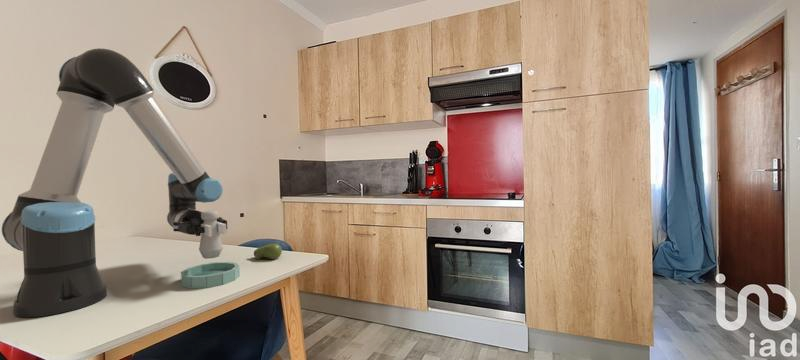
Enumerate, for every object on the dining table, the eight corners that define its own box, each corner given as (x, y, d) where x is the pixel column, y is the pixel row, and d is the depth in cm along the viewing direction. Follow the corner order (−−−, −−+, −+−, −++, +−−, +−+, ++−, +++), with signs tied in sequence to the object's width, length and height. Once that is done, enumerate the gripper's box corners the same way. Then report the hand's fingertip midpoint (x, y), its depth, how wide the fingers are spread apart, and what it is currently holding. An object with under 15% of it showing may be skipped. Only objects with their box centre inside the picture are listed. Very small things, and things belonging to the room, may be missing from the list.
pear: (273, 244, 111) (248, 248, 114) (276, 260, 111) (251, 263, 114) (283, 241, 117) (259, 244, 119) (286, 255, 117) (262, 259, 119)
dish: (170, 289, 85) (170, 278, 85) (196, 273, 99) (196, 263, 99) (227, 286, 87) (227, 275, 87) (245, 270, 101) (245, 261, 101)
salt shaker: (203, 260, 89) (201, 213, 88) (196, 257, 93) (194, 211, 92) (226, 256, 93) (224, 210, 93) (218, 252, 97) (217, 209, 97)
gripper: (219, 229, 111) (248, 239, 95) (162, 237, 99) (184, 249, 83) (218, 207, 111) (247, 213, 95) (160, 212, 99) (182, 220, 83)
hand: (217, 230), depth 89 cm, fingers closed on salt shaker, 3 cm apart
